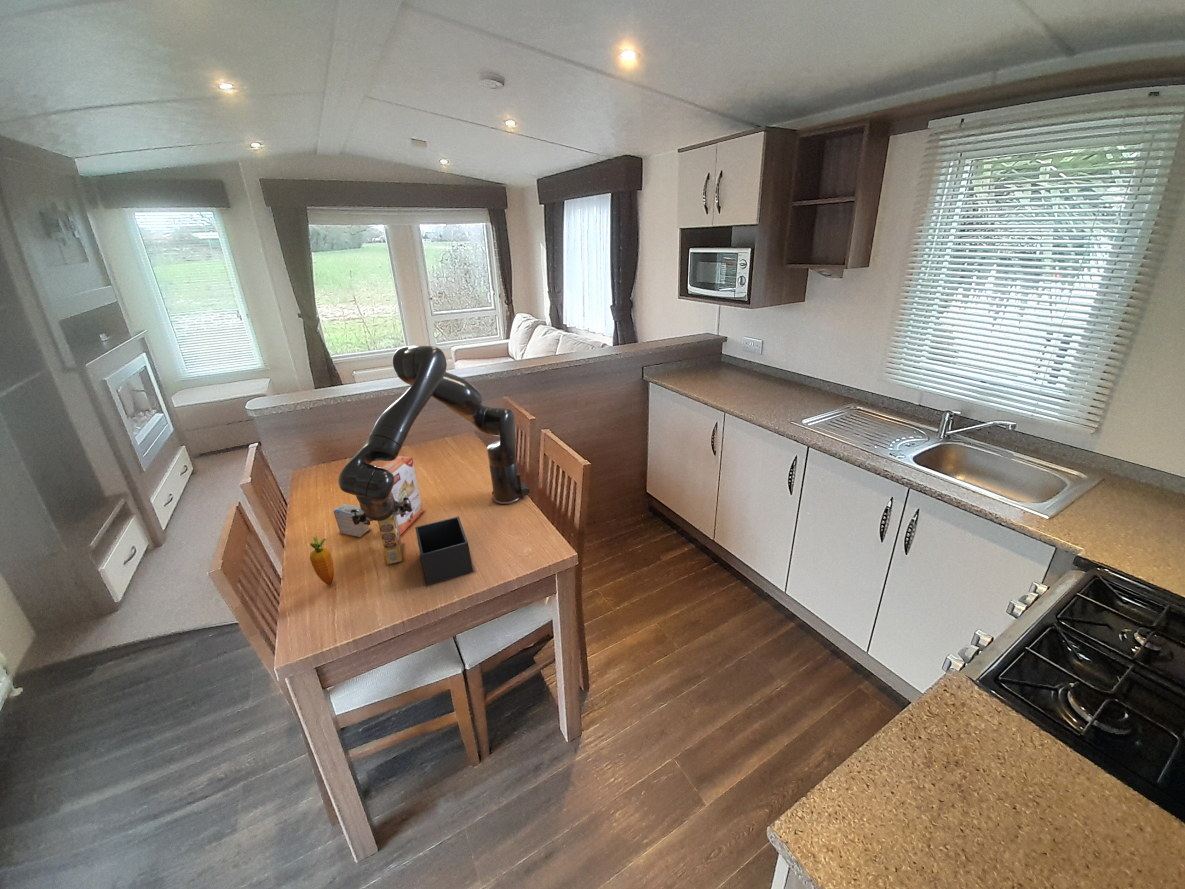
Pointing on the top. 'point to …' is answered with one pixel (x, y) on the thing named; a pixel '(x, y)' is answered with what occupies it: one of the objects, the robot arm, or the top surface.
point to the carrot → (322, 561)
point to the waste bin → (444, 550)
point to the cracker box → (405, 489)
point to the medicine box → (349, 521)
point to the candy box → (391, 539)
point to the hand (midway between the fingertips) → (385, 517)
